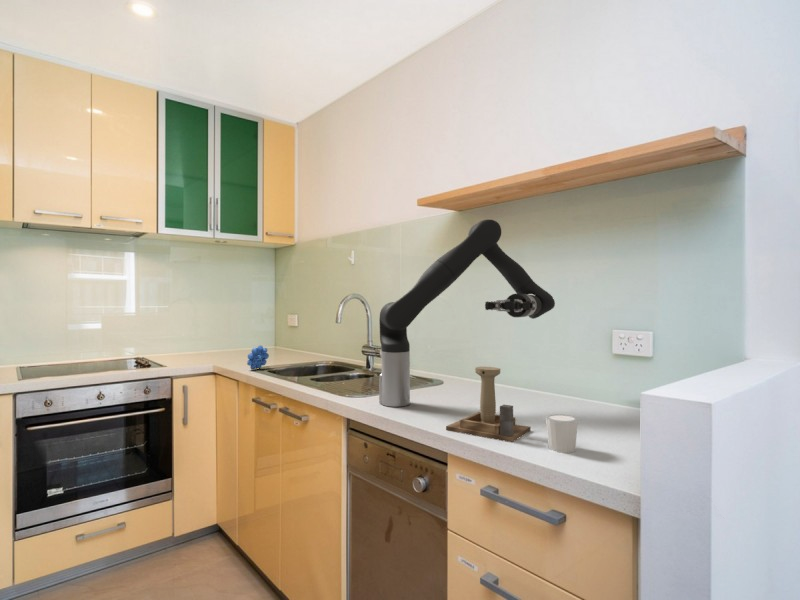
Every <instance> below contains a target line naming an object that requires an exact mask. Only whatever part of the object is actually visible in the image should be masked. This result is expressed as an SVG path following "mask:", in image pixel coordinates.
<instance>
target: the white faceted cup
mask: <svg viewBox="0 0 800 600" xmlns="http://www.w3.org/2000/svg"><path fill="white" fill-rule="evenodd" d="M545 422H546V431H547V433H546V434H547V441H548V448H549V450H550V451H552V450H553V452H556V451H558V452H557V453H561V452H563V454H564V453H565V454H568V453H570V454H571V453H573V452H575V451H576V447H577V436H578V435H577V434H578V425H579V424H578V423H579V419H578V418H577V417H575V416H571V415H569V414H568V415H566V414H549V415H546V416H545Z"/></svg>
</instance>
